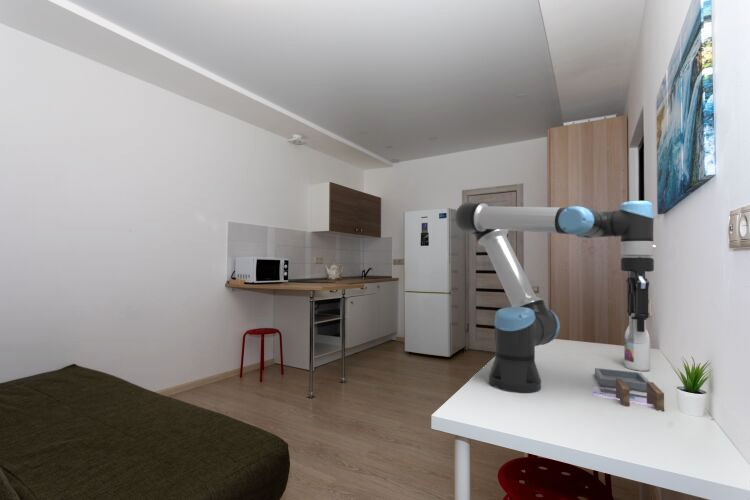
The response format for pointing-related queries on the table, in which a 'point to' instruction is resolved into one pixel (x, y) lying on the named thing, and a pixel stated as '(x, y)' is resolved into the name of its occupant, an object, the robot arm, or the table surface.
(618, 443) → the table surface
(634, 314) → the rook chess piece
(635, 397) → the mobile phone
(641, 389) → the charcoal tray
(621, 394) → the walnut bracket
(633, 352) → the milk bottle
